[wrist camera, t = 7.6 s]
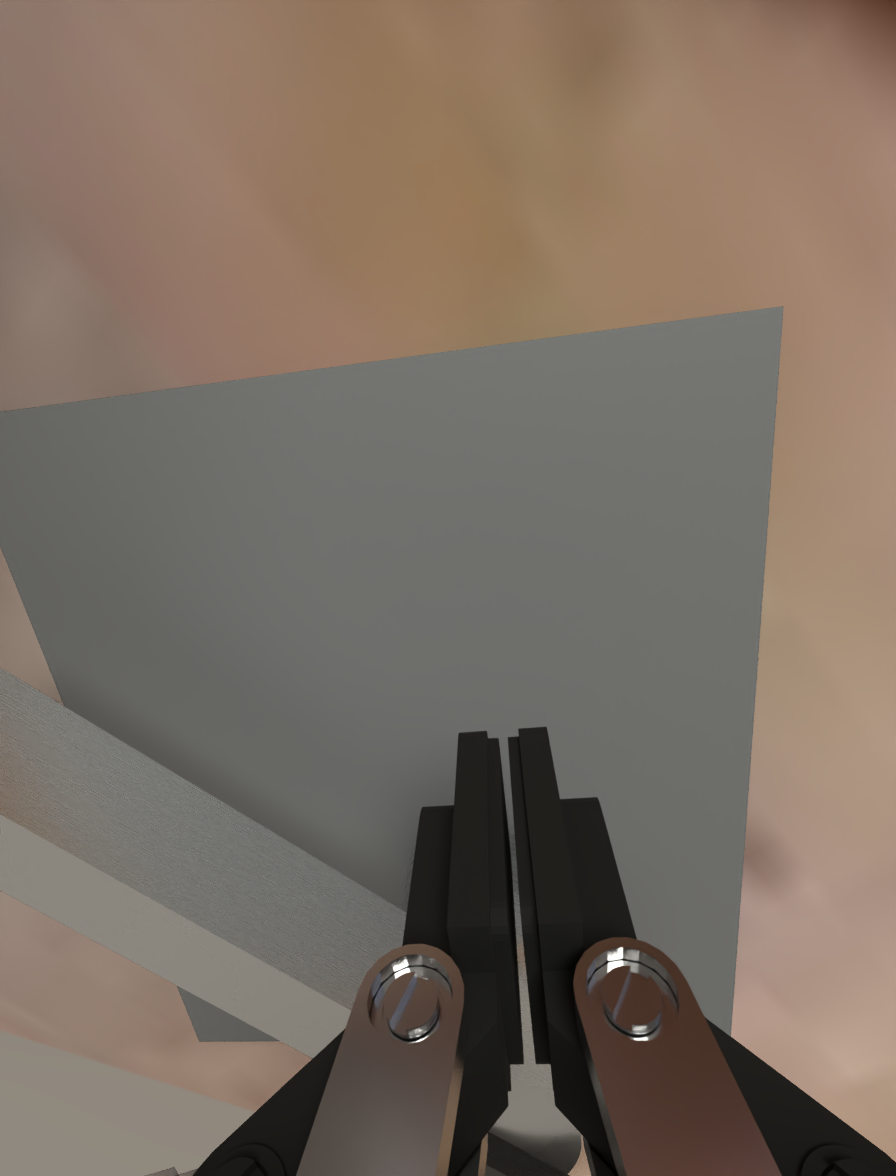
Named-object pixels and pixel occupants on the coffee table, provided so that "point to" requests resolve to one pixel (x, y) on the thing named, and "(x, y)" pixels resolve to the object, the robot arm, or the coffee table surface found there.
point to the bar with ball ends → (218, 901)
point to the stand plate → (429, 596)
